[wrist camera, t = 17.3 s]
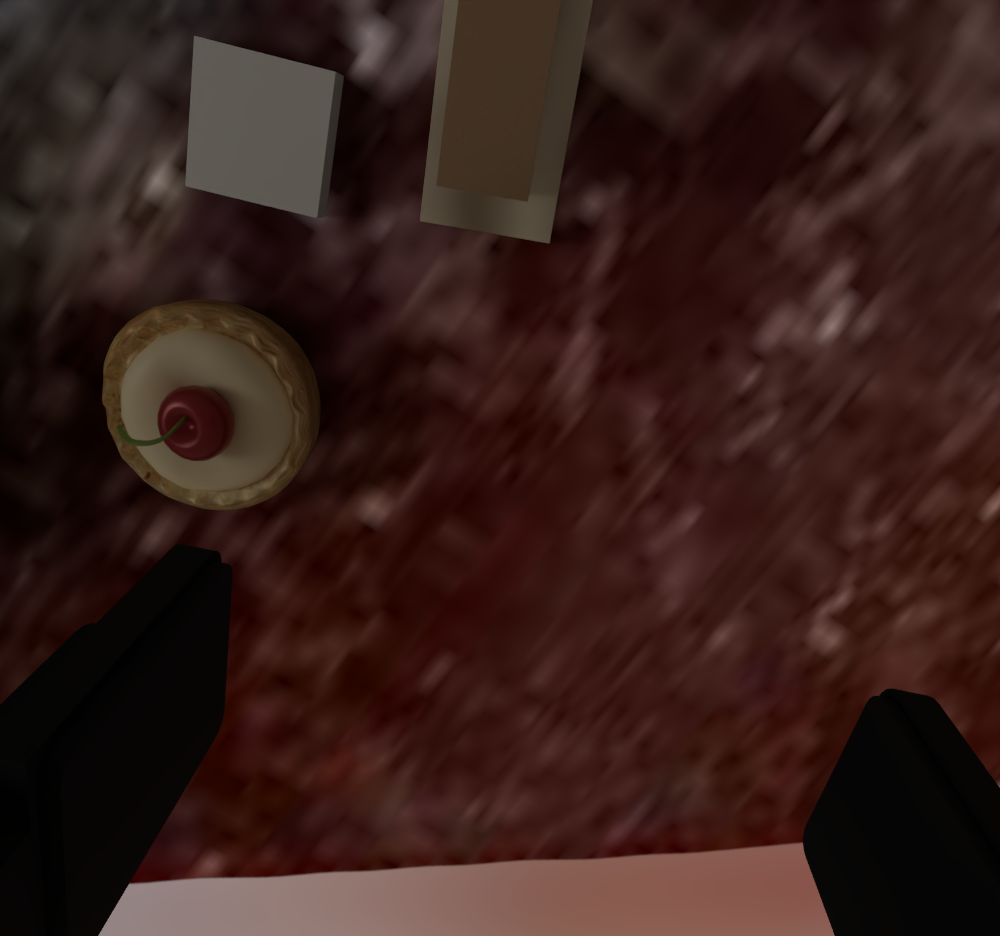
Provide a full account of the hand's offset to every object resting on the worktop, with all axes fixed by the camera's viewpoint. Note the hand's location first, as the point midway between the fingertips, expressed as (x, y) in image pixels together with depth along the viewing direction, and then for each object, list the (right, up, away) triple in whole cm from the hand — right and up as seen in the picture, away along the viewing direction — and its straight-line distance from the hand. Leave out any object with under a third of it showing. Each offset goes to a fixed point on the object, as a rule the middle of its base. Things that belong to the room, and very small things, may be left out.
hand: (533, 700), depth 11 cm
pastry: (-17, +8, +34) cm, 39 cm away
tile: (-9, +20, +27) cm, 35 cm away
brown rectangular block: (0, +22, +26) cm, 34 cm away
